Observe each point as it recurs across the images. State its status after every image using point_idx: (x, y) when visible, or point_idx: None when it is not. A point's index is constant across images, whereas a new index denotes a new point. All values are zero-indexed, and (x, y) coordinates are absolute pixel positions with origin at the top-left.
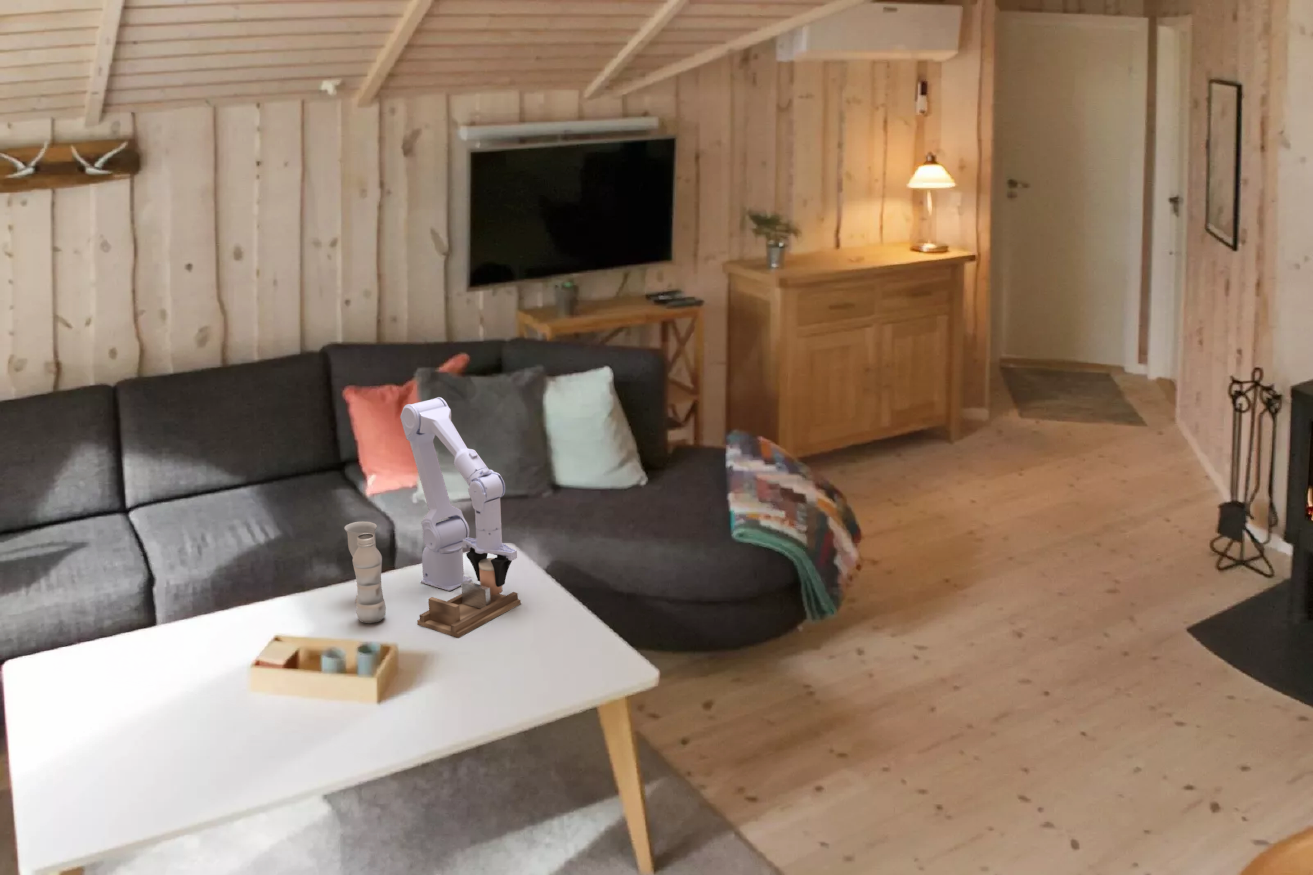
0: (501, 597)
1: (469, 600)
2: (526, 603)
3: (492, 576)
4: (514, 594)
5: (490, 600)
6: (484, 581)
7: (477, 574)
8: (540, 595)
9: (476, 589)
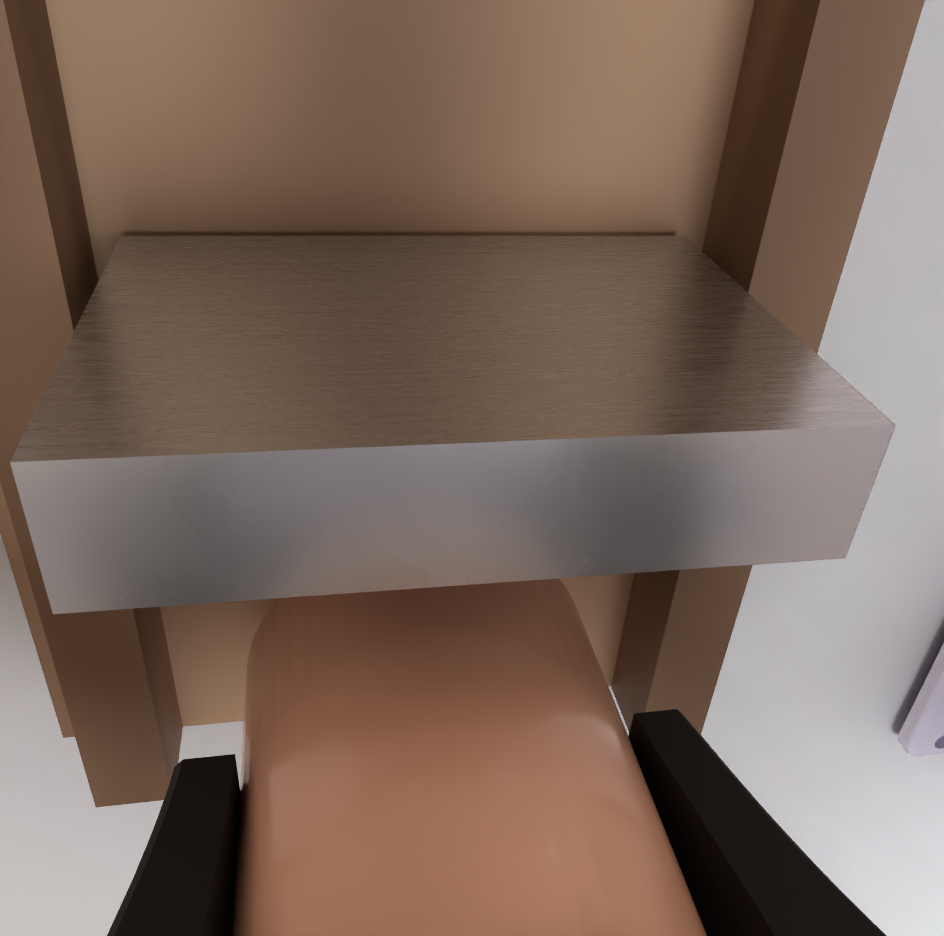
0: None
1: (541, 269)
2: (35, 732)
3: (276, 927)
4: (86, 766)
5: None
6: (441, 732)
7: (718, 815)
8: (93, 888)
9: (367, 411)
